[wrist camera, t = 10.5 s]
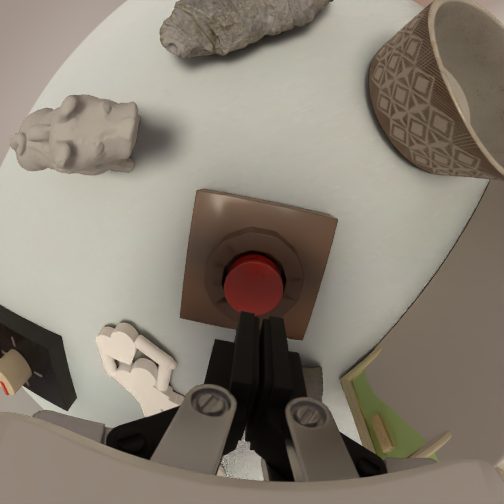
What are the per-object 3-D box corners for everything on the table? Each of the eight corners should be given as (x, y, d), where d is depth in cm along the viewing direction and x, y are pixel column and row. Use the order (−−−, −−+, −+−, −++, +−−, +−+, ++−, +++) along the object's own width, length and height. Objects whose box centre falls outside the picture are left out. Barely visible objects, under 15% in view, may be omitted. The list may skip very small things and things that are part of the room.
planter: (420, 30, 15) (479, -12, 5) (487, 137, 18) (560, 135, 8) (333, 75, 18) (384, 11, 8) (417, 201, 20) (503, 224, 10)
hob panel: (61, 336, 25) (47, 350, 22) (76, 398, 28) (67, 412, 25) (-5, 302, 24) (-18, 311, 21) (12, 362, 27) (2, 372, 24)
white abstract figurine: (148, 315, 23) (141, 329, 21) (204, 398, 27) (202, 412, 25) (83, 332, 24) (74, 344, 22) (141, 405, 28) (137, 418, 26)
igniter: (299, 327, 23) (306, 353, 19) (186, 305, 23) (173, 329, 19) (330, 214, 21) (346, 223, 17) (202, 188, 20) (190, 191, 16)
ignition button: (274, 308, 19) (275, 320, 17) (223, 298, 19) (219, 310, 17) (286, 259, 18) (289, 268, 16) (232, 248, 18) (229, 256, 16)
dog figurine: (176, 177, 20) (107, 182, 10) (55, 171, 20) (-31, 180, 10) (186, 112, 19) (128, 63, 8) (62, 116, 18) (-21, 103, 8)
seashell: (363, 18, 13) (343, -48, 6) (222, 90, 20) (154, 62, 13) (322, -23, 13) (290, -80, 6) (200, 44, 20) (138, 14, 13)
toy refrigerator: (394, 321, 23) (516, 500, 2) (424, 354, 24) (518, 496, 4) (333, 375, 24) (388, 571, 4) (371, 400, 26) (427, 554, 5)
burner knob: (6, 344, 22) (-15, 362, 18) (26, 356, 22) (5, 377, 18) (15, 369, 24) (-3, 387, 19) (35, 381, 24) (17, 402, 19)
